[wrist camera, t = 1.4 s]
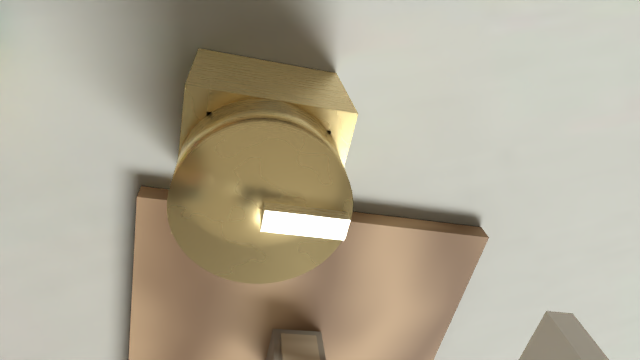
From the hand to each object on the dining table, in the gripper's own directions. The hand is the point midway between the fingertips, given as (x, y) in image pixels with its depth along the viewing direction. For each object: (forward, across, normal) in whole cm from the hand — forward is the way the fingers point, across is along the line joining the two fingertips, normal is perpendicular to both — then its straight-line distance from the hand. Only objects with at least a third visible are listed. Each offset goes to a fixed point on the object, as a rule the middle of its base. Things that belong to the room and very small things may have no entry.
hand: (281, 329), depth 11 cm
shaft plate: (+13, +4, -13) cm, 18 cm away
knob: (+13, 0, 0) cm, 13 cm away
